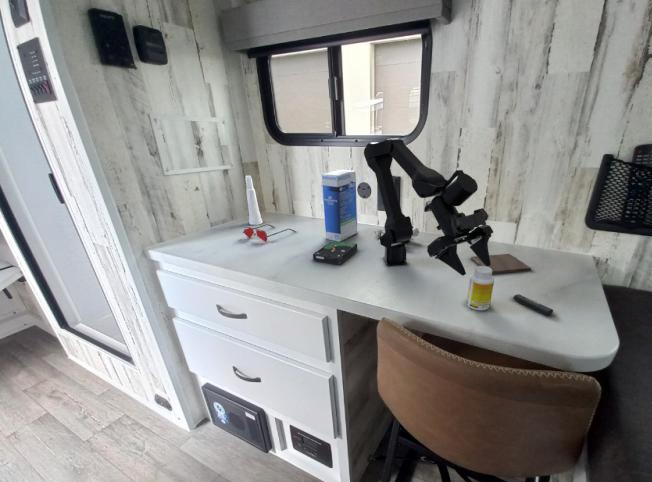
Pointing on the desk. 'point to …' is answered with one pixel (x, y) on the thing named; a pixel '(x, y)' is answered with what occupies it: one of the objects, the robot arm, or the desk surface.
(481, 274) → the supplement bottle
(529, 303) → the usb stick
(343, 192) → the string lights box
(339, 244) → the disk drive
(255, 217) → the cosmetic bottle
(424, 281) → the desk surface
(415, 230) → the clip-on lamp
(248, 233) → the glasses
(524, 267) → the walnut board
